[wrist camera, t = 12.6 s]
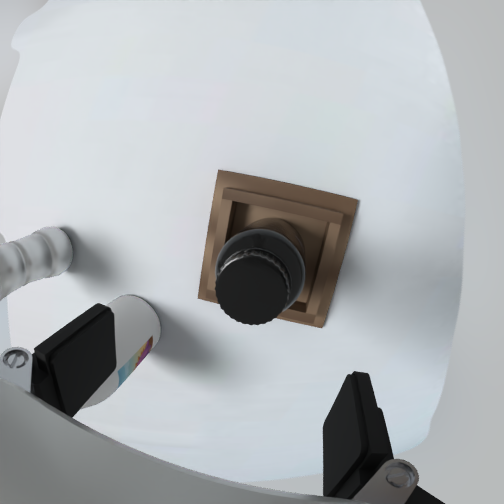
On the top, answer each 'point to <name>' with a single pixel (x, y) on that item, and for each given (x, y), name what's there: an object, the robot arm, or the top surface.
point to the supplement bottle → (260, 271)
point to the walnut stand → (295, 213)
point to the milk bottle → (129, 341)
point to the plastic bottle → (34, 258)
